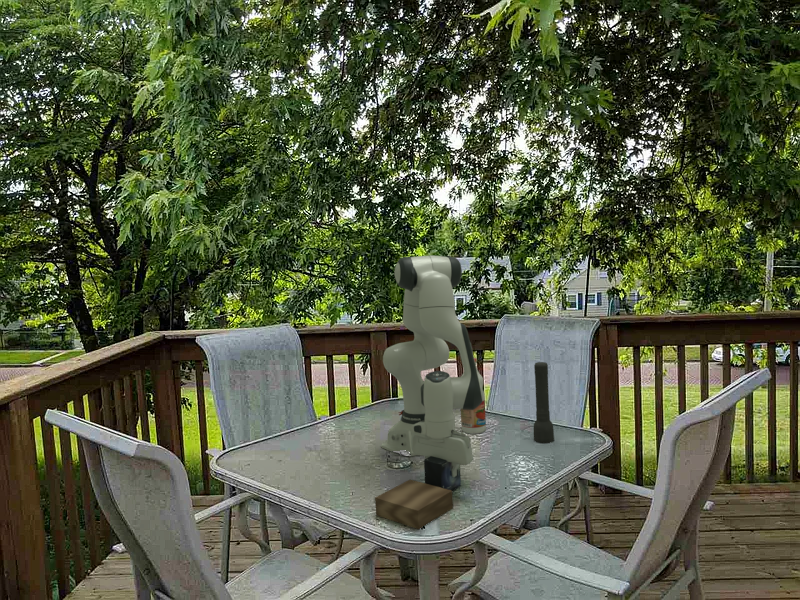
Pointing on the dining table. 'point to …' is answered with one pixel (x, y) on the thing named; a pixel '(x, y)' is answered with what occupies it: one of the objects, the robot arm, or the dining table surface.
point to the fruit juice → (474, 415)
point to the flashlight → (542, 406)
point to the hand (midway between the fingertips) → (442, 473)
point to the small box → (441, 473)
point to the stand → (414, 503)
